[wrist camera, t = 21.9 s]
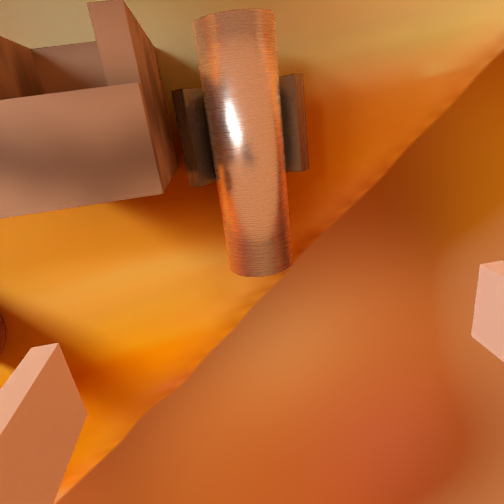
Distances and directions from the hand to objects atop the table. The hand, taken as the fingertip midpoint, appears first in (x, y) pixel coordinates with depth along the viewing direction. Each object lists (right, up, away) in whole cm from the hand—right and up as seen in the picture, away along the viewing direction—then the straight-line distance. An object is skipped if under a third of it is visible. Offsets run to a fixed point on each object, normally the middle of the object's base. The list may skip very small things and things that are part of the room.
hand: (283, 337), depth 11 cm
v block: (-2, +14, +21) cm, 26 cm away
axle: (-2, +11, +19) cm, 22 cm away
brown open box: (-13, +14, +20) cm, 28 cm away
